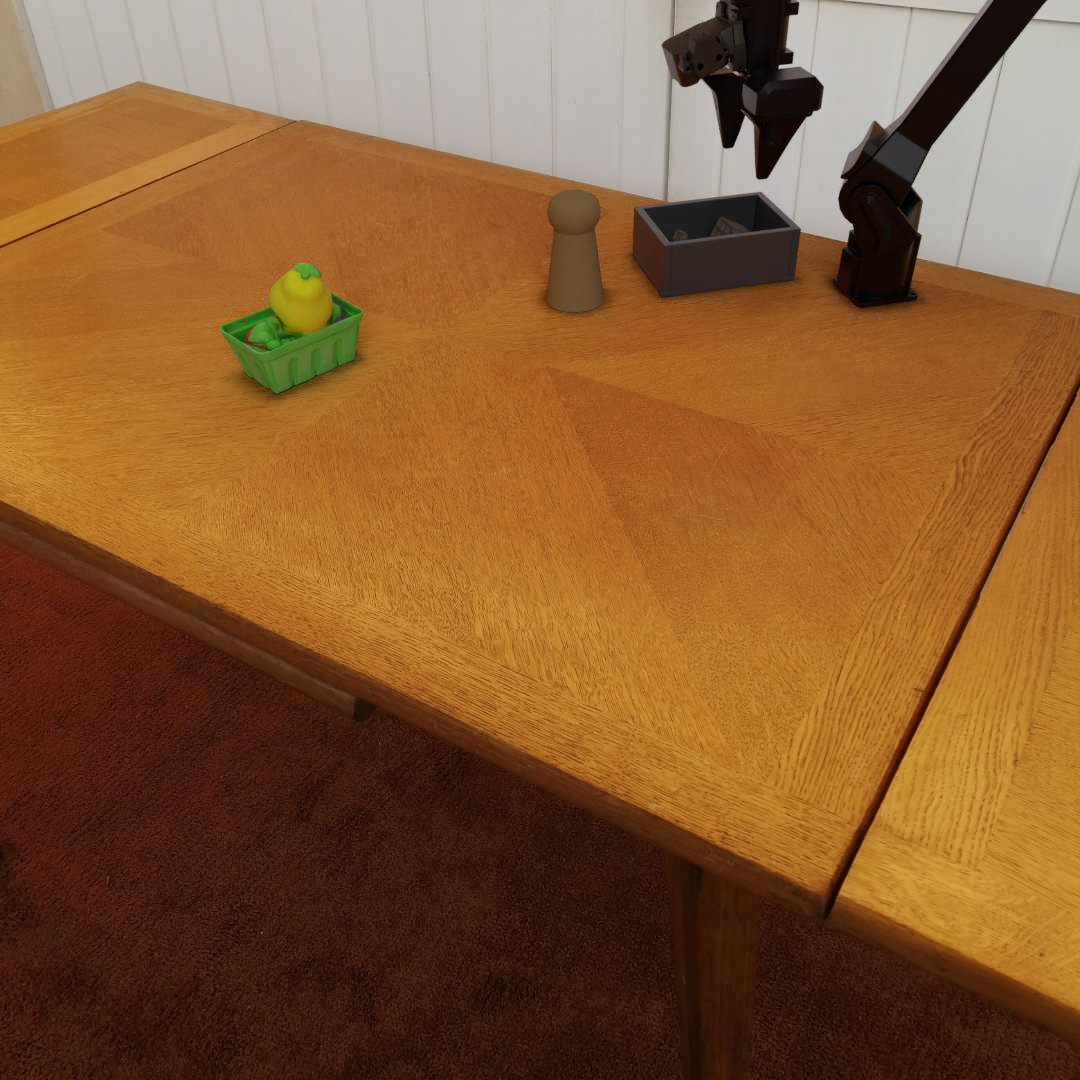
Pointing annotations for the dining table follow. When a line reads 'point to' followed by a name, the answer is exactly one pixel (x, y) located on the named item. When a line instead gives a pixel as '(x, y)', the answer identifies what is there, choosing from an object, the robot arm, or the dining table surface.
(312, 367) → the fruit basket
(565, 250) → the brown pepper mill
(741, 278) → the bin
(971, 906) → the dining table surface
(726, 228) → the building blocks
